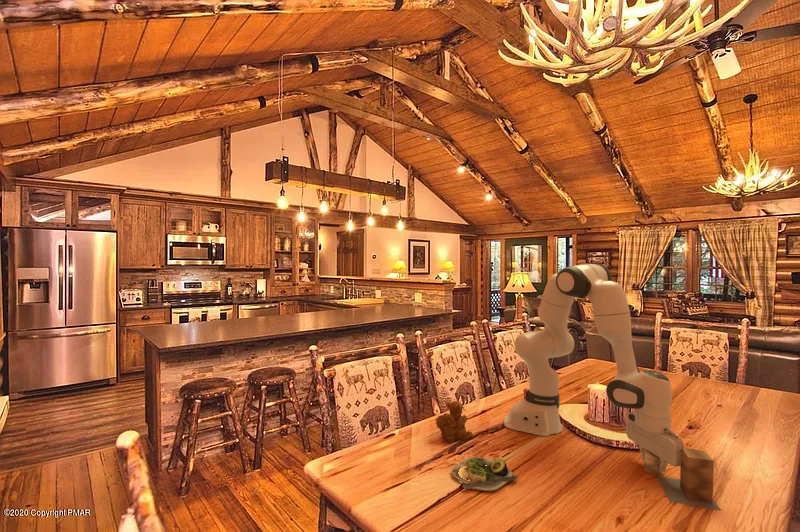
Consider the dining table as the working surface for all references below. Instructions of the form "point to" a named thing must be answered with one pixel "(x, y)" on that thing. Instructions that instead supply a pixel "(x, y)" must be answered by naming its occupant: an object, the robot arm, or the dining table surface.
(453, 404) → the stuffed squirrel
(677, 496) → the felt mat
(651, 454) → the birch round
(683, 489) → the tower base
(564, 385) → the dining table surface
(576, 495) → the dining table surface
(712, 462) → the tower top
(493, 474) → the salad plate
